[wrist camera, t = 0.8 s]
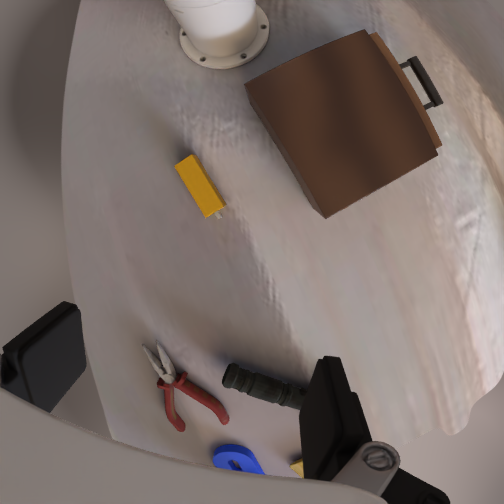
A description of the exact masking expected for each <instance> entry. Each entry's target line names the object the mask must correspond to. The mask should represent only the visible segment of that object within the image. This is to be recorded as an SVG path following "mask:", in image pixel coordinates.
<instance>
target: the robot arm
mask: <svg viewBox="0 0 504 504" xmlns="http://www.w3.org/2000/svg"><path fill="white" fill-rule="evenodd" d="M163 1H164V3H165V4H166V5H167V7H168V8H169V10H170V11H171V13H172V14H173V16H174V17H175V18H176V20H177V21H178V23H179V24H180V26H181V28H180V43H181V47H182V48H183V50H184V52H185V53H186V55H187V56H188V57H189V58H190V59H191V60H192V61H194V62H195V63H197V64H199V65H201V66H204V67H207V68H212V69H228V68H234V67H237V66H241V65H243V64H245V63H247V62H249V61H251V60H252V59H253V58H255V57H256V56H257V55H258V54H259V53H260V52H261V51H262V50H263V48H264V47H265V45H266V43H267V40H268V38H269V22H268V18H267V16H266V14H265V13H264V11H263V10H262V9H261V8H260V7H259V6H258V5H256V3H255V0H163ZM263 28H264V30H263ZM243 57H246V58H245V59H242V58H243ZM203 60H205V61H204V62H203ZM3 351H4V353H3V354H2V355H1V354H0V504H450V500H449V498H448V496H446V494H445V493H444V492H442V491H441V490H439V489H438V488H436V487H433V486H432V485H430V484H428V483H426V482H424V481H422V480H420V479H419V478H417V477H415V476H413V475H411V474H409V473H408V472H406V471H404V470H402V469H400V468H399V465H400V456H399V454H398V452H397V451H396V450H395V449H394V448H393V447H392V446H390V445H389V444H386V443H384V442H379V441H372V438H371V435H370V432H369V429H368V425H367V422H366V419H365V416H364V413H363V410H362V407H361V404H360V401H359V398H358V395H357V393H355V392H351V390H350V387H349V383H348V380H347V377H346V374H345V371H344V368H343V365H342V362H341V359H340V357H332V356H324V357H323V359H318V361H317V364H316V367H315V370H314V373H313V376H312V379H311V381H310V384H309V387H308V390H307V393H306V396H305V398H304V401H303V404H302V407H301V409H300V414H299V423H300V435H301V448H302V461H303V474H304V479H302V478H293V477H282V476H272V475H263V474H255V473H248V472H241V471H235V470H228V469H222V468H217V467H211V466H206V465H201V464H197V463H192V462H188V461H183V460H179V459H175V458H171V457H167V456H164V455H160V454H156V453H153V452H149V451H146V450H143V449H139V448H136V447H133V446H130V445H127V444H124V443H121V442H118V441H115V440H112V439H109V438H106V437H104V436H101V435H99V434H96V433H94V432H91V431H89V430H86V429H84V428H81V427H79V426H77V425H74V424H72V423H70V422H67V421H65V420H63V419H61V418H59V417H57V416H54V415H52V414H50V412H51V411H52V410H53V408H54V407H55V406H56V405H57V403H58V402H59V401H60V400H61V398H62V397H63V396H64V395H65V394H66V392H67V391H68V390H69V389H70V387H71V386H72V385H73V384H74V383H75V381H76V380H77V379H78V378H79V377H80V375H81V374H82V373H83V372H84V370H85V368H86V356H85V349H84V341H83V332H82V322H81V312H80V310H79V309H78V307H77V305H76V304H72V303H69V302H66V301H63V302H61V303H60V304H59V305H57V306H56V307H54V308H53V309H52V310H50V311H49V312H48V313H46V314H45V315H44V316H42V317H41V318H40V319H38V320H37V321H36V322H34V323H33V324H32V325H30V326H29V327H28V328H26V329H25V330H24V331H22V332H21V333H20V334H19V335H17V336H16V337H15V338H13V339H12V340H11V341H10V342H9V343H7V344H6V345H5V346H3Z"/></svg>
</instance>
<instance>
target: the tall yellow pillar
mask: <svg viewBox="0 0 504 504" xmlns="http://www.w3.org/2000/svg"><path fill="white" fill-rule="evenodd" d="M174 167H175V168H176V170H177V172H178V173H179V175H180V177H181V178H182V180H183V182H184V183H185V185H186V186H187V188H188V190H189V191H190V193H191V195H192V196H193V198H194V200H195V201H196V203H197V205H198V206H199V208H200V209H201V211H202V213H203V214H204V216H205V218H207V217H208V216H210V215H211V214H213V213H214V214H215V215H216V217H217V218H218V219H219V218H221V217H222V214H221V213H220V211H219V210H220V209H221V208H223V207H224V206H226V203H225V201H224V200H223V198H222V197H221V195H220V193H219V192H218V190H217V188H216V187H215V185H214V183H213V182H212V180H211V179H210V177H209V175H208V174H207V172H206V170H205V169H204V167H203V165H202V164H201V162H200V160H199V159H198V157H197V156H196V155H192V154H191V155H190V156H188V157H187V158H185V159H184V160H182V161H181V162H179V163H178V164H176V165H175V166H174Z"/></svg>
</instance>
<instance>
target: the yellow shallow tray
mask: <svg viewBox="0 0 504 504" xmlns="http://www.w3.org/2000/svg"><path fill="white" fill-rule="evenodd" d="M290 468H291V469H292V470H294V471H295V472H296V473H297V474H298V475H299V476H301V477H302V478H303V479H304V474H303V461H302V459H299V460H297V461H295V462H293V463H292V464H291V465H290Z"/></svg>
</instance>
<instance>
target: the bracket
mask: <svg viewBox="0 0 504 504" xmlns="http://www.w3.org/2000/svg"><path fill="white" fill-rule="evenodd" d="M232 460H234V461H237V462H238V464H239V465H240V467H241V468H237V467H236V466H235V464H234V463H233V461H232ZM213 463H214V465H215V466H216V467H217V468H222V469H228V470H235V471H241V472H248V473H255V474H263V475H265V474H264V472H263V470H262V469H261V467H260V465H259V464H258V462H257V460H256V458H255V457H254V455H253V453H252V452H251V451H250V450H249V449H247V448H245V447H243V446H239V445H233V444H229V445H223V446H220V447H218V448H217V449H216V450H215V452H214V457H213Z"/></svg>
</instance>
